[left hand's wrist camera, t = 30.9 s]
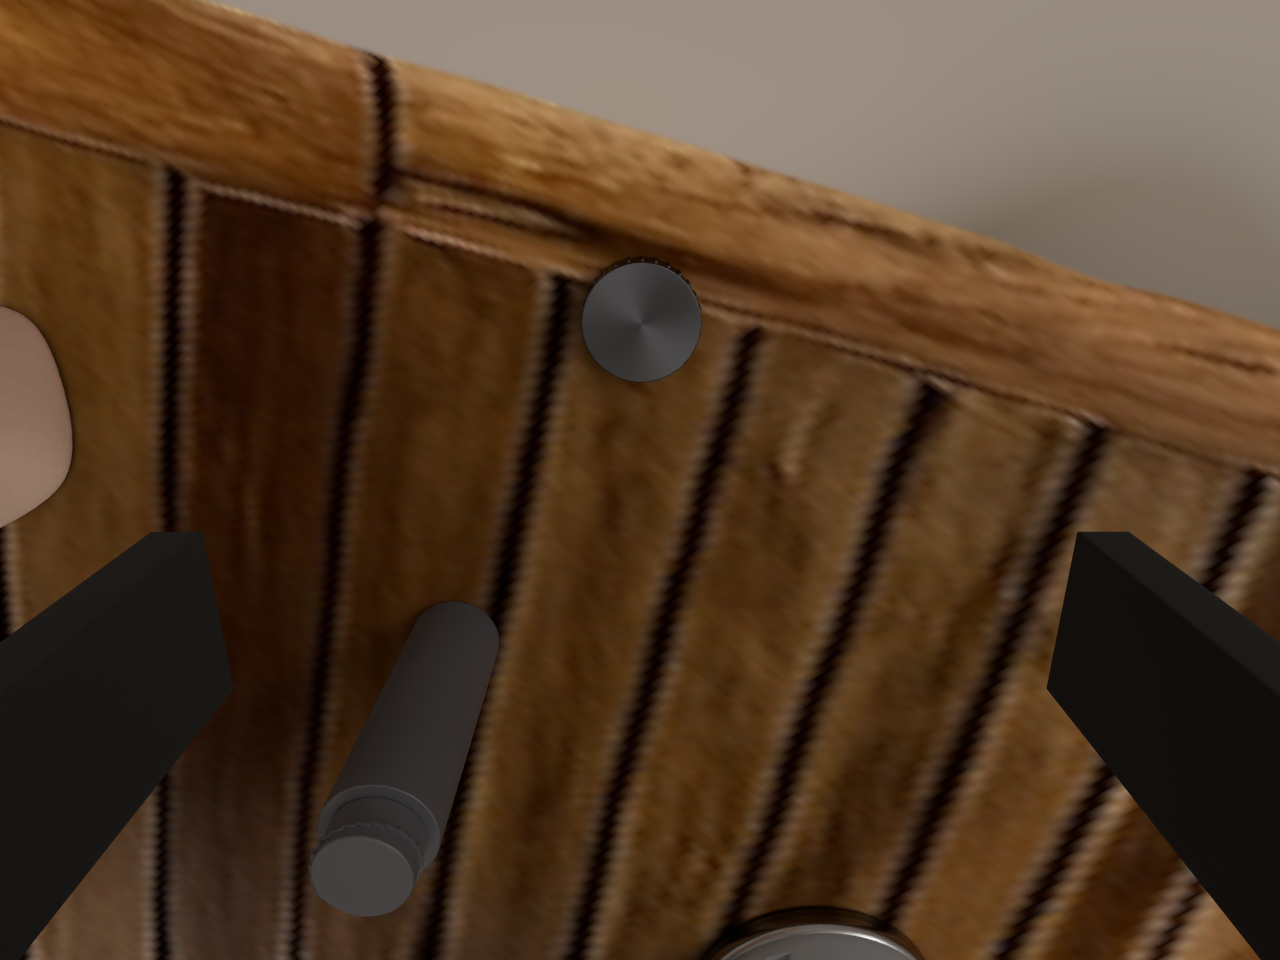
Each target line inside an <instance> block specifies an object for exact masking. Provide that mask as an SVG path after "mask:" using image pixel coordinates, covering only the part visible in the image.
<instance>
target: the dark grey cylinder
mask: <svg viewBox="0 0 1280 960" xmlns="http://www.w3.org/2000/svg"><path fill="white" fill-rule="evenodd" d="M498 649H499V635H498V631H497V629H496V626H495V625H494V623H493V621H492V620H491V619H490V617H489V616H488V615H487V614H486V613H484V612H483V611H482V610H480V609H479V608H477V607H475V606H473V605H470V604H468V603H464V602H457V601H448V602H442V603H438V604H436V605H433V606H431V607H430V608H428V609H427V610H425V611H424V612H423V613H422V614H421V615H420V616H419V618H418V619H417V621H416V623H415V625H414V627H413V629H412V631H411V633H410V635H409V637H408V639H407V641H406V643H405V645H404V647H403V649H402V651H401V653H400V655H399V657H398V659H397V661H396V663H395V665H394V667H393V669H392V671H391V673H390V675H389V677H388V679H387V681H386V683H385V685H384V687H383V689H382V691H381V693H380V695H379V697H378V699H377V701H376V703H375V705H374V707H373V709H372V711H371V713H370V715H369V717H368V719H367V721H366V723H365V725H364V727H363V729H362V731H361V733H360V735H359V737H358V739H357V741H356V743H355V745H354V747H353V749H352V751H351V753H350V755H349V757H348V759H347V761H346V763H345V765H344V767H343V769H342V771H341V773H340V775H339V777H338V779H337V781H336V783H335V785H334V787H333V789H332V791H331V793H330V795H329V797H328V799H327V801H326V803H325V805H324V807H323V809H322V811H321V813H320V816H319V819H318V837H319V840H320V841H319V842H318V843H317V845H316V846H315V848H314V849H313V851H312V854H311V858H310V862H309V865H308V867H309V873H310V877H309V879H310V881H311V883H312V885H313V886H314V889H313V890H314V891H315V892H316V893H317V894H318V895H319V896H320V897H321V898H322V899H323V900H324V901H326V902H327V903H328V904H330V905H331V906H333V907H334V908H336V909H338V910H340V911H343V912H345V913H348V914H352V915H357V916H378V915H383V914H386V913H389V912H391V911H393V910H395V909H397V908H398V907H400V906H401V905H402V904H403V903H404V902H405V901H406V900H407V899H408V898H409V896H410V895H411V893H412V890H413V888H414V884H415V882H416V881H417V879H418V878H419V877H420V875H421V872H422V871H423V870H424V869H425V868H426V867H428V866H429V865H430V864H431V862H432V861H433V860H434V858H435V857H436V855H437V853H438V850H439V847H440V844H441V841H442V837H443V834H444V830H445V827H446V824H447V820H448V817H449V814H450V810H451V807H452V804H453V800H454V797H455V794H456V790H457V787H458V784H459V780H460V777H461V773H462V770H463V767H464V763H465V760H466V757H467V753H468V750H469V747H470V743H471V740H472V737H473V733H474V730H475V726H476V723H477V720H478V716H479V713H480V710H481V706H482V703H483V700H484V696H485V693H486V690H487V686H488V683H489V679H490V676H491V673H492V669H493V666H494V663H495V659H496V656H497V653H498Z"/></svg>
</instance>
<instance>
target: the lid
mask: <svg viewBox="0 0 1280 960" xmlns="http://www.w3.org/2000/svg"><path fill="white" fill-rule="evenodd" d="M586 296H587V298H586V301H584V303H583V305H582V309H583V312H582V317H581V320H580V322H582V336H583V337H584V340H585V343H586V347H587V348H588V350H589V352H590V354H591V355H592V357H593V358H594V360H595V361H596V362H597V363H598V364H599V365H600V366H601V367H602V368H603V369H604V370H606V371H607V372H609V373H610V374H612V375H614V376H616V377H618V378H621V379H624V380H627V381H632V382H650V381H656V380H659V379H662V378H665V377H667V376H669V375H671V374H672V373H674V372H676V371H677V370H678V369H679V368H681V367H682V366H683V365H684V364H685V363H686V362H687V360H688V359H689V358H690V356H691V355H692V353H693V351H694V350H695V349H696V345H697V343H698V340H699V338H700V331H701V324H702V320H701V314H700V311H702V310H701V307H700V305H699V303H698V301H697V299H696V298H698V296H697V294H696V292H695V290H694V291H693V290H692V288H691V284H690V281H689V280H688V279H687V280H686V279H685V278H684V277H683V275H682V274H681V271H680V270H679V269H678V270H676V269H675V268H673V267H672V266H670V263H669V262H667V263H665V262H662V261H659V260H657V258H656V257H655V258H654V259H652V258H644V256H641V258H631V257H628V259H627V260H624V261H621V262H618V261H616V262H615V264H614V265H613V266H611V267H609V268H608V269H607V268H605V269H604V271H603V273H602V274H601V275H600V276H599V277H598V278H597V277H596V278H595V280H594V282H593V286H592V288H591V289H590V288H589V289H588V291H587V294H586Z"/></svg>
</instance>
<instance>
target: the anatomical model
mask: <svg viewBox="0 0 1280 960" xmlns="http://www.w3.org/2000/svg"><path fill="white" fill-rule="evenodd" d="M71 459H72V427H71V420H70V413H69V408H68V404H67V400H66V396H65V391H64V388H63V385H62V381H61V378H60V375H59V371H58V368H57V366H56V363H55V361H54V358H53V356H52V353H51V350H50V348H49V346H48V344H47V342H46V340H45V339H44V337H43V336H42V334H41V333H40V331H39V329H38V328H37V327H36V326H35V325H34V324H33V323H32V322H31V321H30V320H29V319H28V318H26V317H25V316H23V315H22V314H20V313H18V312H16V311H14V310H11V309H9V308H6V307H2V306H0V528H1V527H3V526H5V525H7V524H9V523H11V522H12V521H14V520H16V519H18V518H20V517H21V516H23V515H25V514H26V513H28V512H30V511H31V510H33V509H34V508H36V507H37V506H38V505H40V504H41V503H42V502H44V501H45V500H46V499H48V498H49V497H50V496H51V495H52V494H53V493H54V492H55V491H56V490H57V489H58V488H59V487H60V485H61V484H62V483H63V481H64V480H65V477H66V475H67V473H68V471H69V467H70V463H71Z"/></svg>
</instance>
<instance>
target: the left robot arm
mask: <svg viewBox="0 0 1280 960" xmlns="http://www.w3.org/2000/svg"><path fill="white" fill-rule="evenodd" d="M232 690H233V684H232V679H231V674H230V669H229V664H228V659H227V653H226V648H225V643H224V638H223V633H222V628H221V623H220V618H219V613H218V608H217V603H216V598H215V593H214V588H213V582H212V577H211V572H210V567H209V562H208V557H207V552H206V547H205V542H204V537H203V532H151V533H149V534H148V535H147V536H145V537H144V538H142V539H141V540H140V541H138V542H137V543H136V544H134V545H133V546H132V547H130V548H129V549H127V550H126V551H125V552H123V553H122V554H121V555H119V556H118V557H116V558H115V559H114V560H112V561H111V562H110V563H108V564H107V565H106V566H104V567H103V568H101V569H100V570H99V571H97V572H96V573H95V574H93V575H92V576H91V577H89V578H88V579H86V580H85V581H84V582H82V583H81V584H80V585H78V586H77V587H75V588H74V589H73V590H71V591H70V592H69V593H67V594H66V595H65V596H63V597H62V598H60V599H59V600H58V601H56V602H55V603H54V604H52V605H51V606H50V607H48V608H47V609H45V610H44V611H43V612H41V613H40V614H39V615H37V616H36V617H34V618H33V619H32V620H30V621H29V622H28V623H26V624H25V625H24V626H22V627H21V628H19V629H18V630H17V631H15V632H14V633H13V634H11V635H10V636H9V637H7V638H6V639H4V640H3V641H2V642H0V960H19V959H20V958H21V957H22V955H23V954H24V953H25V952H26V950H27V949H28V948H29V946H30V945H31V944H32V943H33V941H34V940H35V939H36V938H37V936H38V935H39V934H40V933H41V931H42V930H43V929H44V927H45V926H46V925H47V924H48V922H49V921H50V920H51V919H52V917H53V916H54V915H55V914H56V912H57V911H58V910H59V909H60V907H61V906H62V905H63V903H64V902H65V901H66V900H67V898H68V897H69V896H70V895H71V893H72V892H73V891H74V890H75V888H76V887H77V886H78V884H79V883H80V882H81V881H82V879H83V878H84V877H85V876H86V874H87V873H88V872H89V871H90V869H91V868H92V867H93V866H94V864H95V863H96V862H97V860H98V859H99V858H100V857H101V855H102V854H103V853H104V852H105V850H106V849H107V848H108V847H109V845H110V844H111V843H112V842H113V840H114V839H115V838H116V836H117V835H118V834H119V833H120V831H121V830H122V829H123V828H124V826H125V825H126V824H127V823H128V821H129V820H130V819H131V817H132V816H133V815H134V814H135V812H136V811H137V810H138V809H139V807H140V806H141V805H142V804H143V802H144V801H145V800H146V799H147V797H148V796H149V795H150V793H151V792H152V791H153V790H154V788H155V787H156V786H157V785H158V783H159V782H160V781H161V780H162V778H163V777H164V776H165V774H166V773H167V772H168V771H169V769H170V768H171V767H172V766H173V764H174V763H175V762H176V761H177V759H178V758H179V757H180V756H181V754H182V753H183V752H184V750H185V749H186V748H187V747H188V745H189V744H190V743H191V742H192V740H193V739H194V738H195V737H196V735H197V734H198V733H199V731H200V730H201V729H202V728H203V726H204V725H205V724H206V723H207V721H208V720H209V719H210V718H211V716H212V715H213V714H214V713H215V711H216V710H217V709H218V707H219V706H220V705H221V704H222V702H223V701H224V700H225V699H226V697H227V696H228V695H229V694H230V692H231V691H232ZM1047 690H1048V691H1049V692H1050V694H1051V695H1052V696H1053V697H1054V699H1055V700H1056V701H1057V702H1058V704H1059V705H1060V706H1061V707H1062V709H1063V710H1064V711H1065V713H1066V714H1067V715H1068V716H1069V718H1070V719H1071V720H1072V721H1073V723H1074V724H1075V725H1076V726H1077V728H1078V729H1079V730H1080V731H1081V733H1082V734H1083V735H1084V737H1085V738H1086V739H1087V740H1088V742H1089V743H1090V744H1091V745H1092V747H1093V748H1094V749H1095V750H1096V752H1097V753H1098V754H1099V756H1100V757H1101V758H1102V759H1103V761H1104V762H1105V763H1106V764H1107V766H1108V767H1109V768H1110V769H1111V771H1112V772H1113V773H1114V774H1115V776H1116V777H1117V778H1118V780H1119V781H1120V782H1121V783H1122V785H1123V786H1124V787H1125V788H1126V790H1127V791H1128V792H1129V793H1130V795H1131V796H1132V797H1133V799H1134V800H1135V801H1136V802H1137V804H1138V805H1139V806H1140V807H1141V809H1142V810H1143V811H1144V812H1145V814H1146V815H1147V816H1148V817H1149V819H1150V820H1151V821H1152V823H1153V824H1154V825H1155V826H1156V828H1157V829H1158V830H1159V831H1160V833H1161V834H1162V835H1163V836H1164V838H1165V839H1166V840H1167V842H1168V843H1169V844H1170V845H1171V847H1172V848H1173V849H1174V850H1175V852H1176V853H1177V854H1178V855H1179V857H1180V858H1181V859H1182V860H1183V862H1184V863H1185V864H1186V866H1187V867H1188V868H1189V869H1190V871H1191V872H1192V873H1193V874H1194V876H1195V877H1196V878H1197V879H1198V881H1199V882H1200V883H1201V884H1202V886H1203V887H1204V888H1205V890H1206V891H1207V892H1208V893H1209V895H1210V896H1211V897H1212V898H1213V900H1214V901H1215V902H1216V903H1217V905H1218V906H1219V907H1220V909H1221V910H1222V911H1223V912H1224V914H1225V915H1226V916H1227V917H1228V919H1229V920H1230V921H1231V922H1232V924H1233V925H1234V926H1235V927H1236V929H1237V930H1238V931H1239V933H1240V934H1241V935H1242V936H1243V938H1244V939H1245V940H1246V941H1247V943H1248V944H1249V945H1250V946H1251V948H1252V949H1253V950H1254V952H1255V953H1256V954H1257V955H1258V957H1259V958H1260V959H1261V960H1280V642H1278V641H1277V640H1276V639H1274V638H1273V637H1271V636H1270V635H1269V634H1267V633H1266V632H1265V631H1263V630H1262V629H1261V628H1259V627H1258V626H1256V625H1255V624H1254V623H1252V622H1251V621H1250V620H1248V619H1247V618H1246V617H1244V616H1243V615H1241V614H1240V613H1239V612H1237V611H1236V610H1235V609H1233V608H1232V607H1230V606H1229V605H1228V604H1226V603H1225V602H1224V601H1222V600H1221V599H1220V598H1218V597H1217V596H1215V595H1214V594H1213V593H1211V592H1210V591H1209V590H1207V589H1206V588H1205V587H1203V586H1202V585H1200V584H1199V583H1198V582H1196V581H1195V580H1194V579H1192V578H1191V577H1189V576H1188V575H1187V574H1185V573H1184V572H1183V571H1181V570H1180V569H1179V568H1177V567H1176V566H1174V565H1173V564H1172V563H1170V562H1169V561H1168V560H1166V559H1165V558H1164V557H1162V556H1161V555H1159V554H1158V553H1157V552H1155V551H1154V550H1153V549H1151V548H1150V547H1148V546H1147V545H1146V544H1144V543H1143V542H1142V541H1140V540H1139V539H1138V538H1136V537H1135V536H1133V535H1132V534H1131V533H1129V532H1077V537H1076V542H1075V547H1074V552H1073V557H1072V562H1071V567H1070V572H1069V577H1068V582H1067V588H1066V593H1065V598H1064V603H1063V608H1062V613H1061V618H1060V623H1059V628H1058V633H1057V638H1056V643H1055V648H1054V653H1053V659H1052V664H1051V669H1050V674H1049V679H1048V684H1047ZM703 960H925V958H924V957H923V955H922V954H921V952H920V951H919V949H918V948H917V947H916V946H915V945H914V944H913V943H912V942H911V941H910V940H909V939H908V938H907V937H906V936H905V935H903V934H902V933H901V932H899V931H898V930H896V929H895V928H893V927H891V926H890V925H888V924H886V923H884V922H882V921H879V920H877V919H875V918H872V917H869V916H866V915H863V914H859V913H855V912H850V911H845V910H837V909H820V908H816V909H801V910H793V911H787V912H782V913H778V914H774V915H771V916H767V917H764V918H761V919H759V920H756V921H754V922H751V923H749V924H747V925H745V926H743V927H741V928H739V929H738V930H736V931H734V932H733V933H731V934H730V935H728V936H727V937H725V938H724V939H723V940H721V941H720V942H719V943H718V944H717V945H715V946H714V947H713V948H712V949H711V950H710V951H709V952H708V954H707V955H706V956H705V957H704V959H703Z"/></svg>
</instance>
